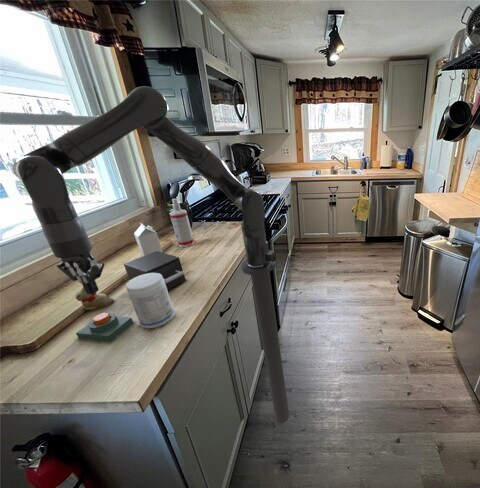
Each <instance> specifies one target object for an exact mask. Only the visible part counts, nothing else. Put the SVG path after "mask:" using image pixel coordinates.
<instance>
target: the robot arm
mask: <svg viewBox="0 0 480 488" xmlns="http://www.w3.org/2000/svg"><path fill="white" fill-rule="evenodd" d="M168 112H169V104H168V101H167V99H166V97H165V96H164V95H163V94H162V93H161V92H160V91H159V90H158V89H156V88H154V87H152V86H147V85H142V86H136V87H135V88H133V89H132V90H131V91H130V92H129V93H128V94H127V96H126V97H125V99H123V100H122V101H121V102H120V103H118V104H116V106H114V107H112V108H111V109H109V110H107V111H106V112H104V113H102V114H100V115H98V116H97V117H95V118H92V119H90V120H88V121H87V122H84V123H82V124H81V125H78V126H77V127H75V128H73V129H71V130H70V131H68V132H65V133H64V134H62V135H60V136H58V137H57V138H56V139H54V140H52V141H50V143H47V144H45V145H43V146H41V147H38V148H36V149H34V150H32V151H30V152H28V153H24V154H23V155H22V156H19V157H18V158H17V159H16V160H15V161H14V162H13V164H12V172H13V174H14V176H15V177H16V178H17V179H18V180H20V181H21V182H22V184H23V186H24V188H25V190H26V192H27V194H28V196H29V198H30V199H31V207H32V210H33V212H34V213H35V216H36V218H37V220H38V222H39V224H40V226H41V230H42V233H43V235H44V237H45V239H46V241H47V244H48V245H49V247H50V249H51V251H52V253H53V255H54V257H55V258H57V259H60V261H61V263H58V264H57V265H56V267H57V269H59V270H60V271H61V272H62V273H63V274H65V275H66V276H67V277H68V278H69V279H71V280H72V281H73V282H76V281H78V283H79V284H81V285H82V288H83V287H84V289H85V291H86V293H87V294H94V293H97V292H98V291H99V286H98V285H97V282H96V280H98V279H99V278H101V276H102V273H103V270H104V268H105V262H102V261H100V262H98V261H96V260H95V257H94V256H93V255H92V254H91V251H92V249H93V245H92V243H91V240H90V238H89V236H88V234H87V231H86V228H85V226H84V224H83V223H82V221H81V220H80V218H79V216H78V214H77V211H76V209H75V207H74V204H73V202H72V200H71V198H70V196H69V190H68V187H67V183H66V180H65V178H64V174H65V173H67V172H68V171H70V170H71V169H74V168H75V167H80V166H82V165H85V164H86V163H88V162H90V161H91V160H93V159H95V158H96V157H98V156H100V155H101V154H102V153H104V152H105V151H107V150H108V149H110V148H111V147H112V146H114V145H115V144H116V143H117V142H119V141H121V139H123V138H124V137H126V136H127V135H129V134H131V133H132V132H134V131H136V130H138V129H139V128H141V127H142V128H143V129H144V130H146V131H147V132H149V134H151V135H153V136H154V137H156V138H157V139H158V140H159V141H161V142H162V143H163V144H165V145H166V146H167V147H168V148H169V149H170V150H171V151H172V152H174V154H176V155H177V156H178V157H179V158H181V160H183V161H184V162H185V163H186V164H187V165H188V166H190V167H191V169H193V170H194V171H195V172H196V173H198V174H199V175H200V176H201V177H203V178H204V179H205V180H206V181H208V182H209V183H211V184H212V185H213V186H214V187H216V188H218V189H219V190H220V191H221V192H222V193H224V194H225V195H226V197H228V199H229V200H230V201H231V202H232V203H233V204H234V205H235V206H236V207H237V209H239V210H241V212H242V220H241V221H240V227H241V233H242V238H243V239H242V240H243V245H244V252H245V257H246V260H247V264H248V267H250V268H262V267H267V265H268V264H269V262H270V261H272V262H274V261H276V260H277V256H276V253H275V250H271V249H270V245H269V241H267V237H266V236H267V235H266V228H265V220H266V215H265V203H264V199H263V195H262V194H261V193H260V192H259V191H257V190H255V189H251V188H249V187H247V186H246V185H245V184H243V183H242V182H241V181H240V180H238V179H237V178H236V177H235V176H234V174H232V172H231V171H230V169H229V167H228V166H227V165H226V163H225V162H224V160H223V159H222V158H221V157H220V156H219V154H217V153H216V152H215V151H214V150H213V149H212V148H210V146H209V145H208V144H207V143H205V142H203V141H202V140H201V139H199V138H197V137H195V136H194V135H191V134H190V133H188V132H186V131H184V130H183V129H181V128H180V127H179V126H178V125H177V124H176V123H174V122H173V120H172V119H170V117H168V115H167V114H168Z"/></svg>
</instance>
